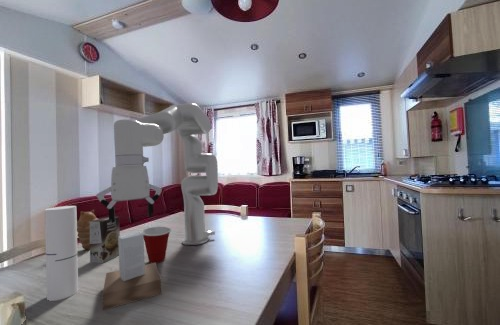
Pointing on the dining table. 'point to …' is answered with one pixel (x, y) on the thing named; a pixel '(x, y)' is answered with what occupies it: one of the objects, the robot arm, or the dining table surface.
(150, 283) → the walnut base
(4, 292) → the dining table surface
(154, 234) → the plastic cup
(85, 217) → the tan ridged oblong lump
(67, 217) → the cylindrical container
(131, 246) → the skincare box
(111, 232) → the coffee box
